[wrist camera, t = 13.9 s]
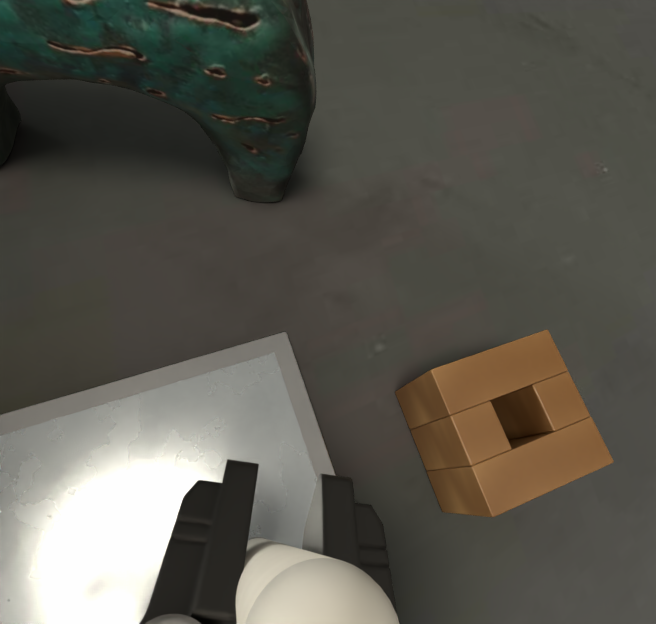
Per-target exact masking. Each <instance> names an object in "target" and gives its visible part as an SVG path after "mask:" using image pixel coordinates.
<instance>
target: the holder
mask: <svg viewBox="0 0 656 624" xmlns="http://www.w3.org/2000/svg"><path fill="white" fill-rule="evenodd" d="M566 371H568V369H567V367H566V365H565V363H564V361H563V359H562V357H561V355H560V353H559V351H558V349H557V347H556V345H555V343H554V341H553V339H552V337H551V335H550V333H549V331H548V330H544V331H541V332H538V333H535V334H532V335H530V336H527V337H524V338H521V339H518V340H515V341H512V342H509V343H506V344H503V345H501V346H498V347H495V348H492V349H489V350H486V351H483V352H480V353H477V354H474V355H471V356H469V357H466V358H463V359H460V360H457V361H454V362H451V363H448V364H445V365H442V366H440V367H437V368H434V369H431V370H429V371H428V372H426V373H425V374H423V375H421V376H420V377H418V378H416V379H415V380H413V381H412V382H410V383H408V384H407V385H405V386H404V387H402V388H400V389H399V390H397V391H396V392H395V393H396V396H397V398H398V401H399V403H400V406H401V409H402V411H403V414H404V416H405V419H406V421H407V424H408V426H409V429H411V433H412V436H413V438H414V441H415V443H416V446H417V448H418V451H419V453H420V456H421V458H422V461H423V464H424V466H425V469H426V470H427V474H428V477H429V479H430V482H431V484H432V487H433V489H434V492H435V494H436V497H437V499H438V502H439V505H440V507H441V510H442V512H446V513H456V514H466V515H475V516H485V517H495V516H497V515H500V514H502V513H504V512H506V511H508V510H510V509H513V508H515V507H517V506H519V505H521V504H524V503H526V502H528V501H530V500H532V499H535V498H537V497H539V496H541V495H543V494H546V493H548V492H550V491H552V490H554V489H556V488H559V487H561V486H563V485H565V484H567V483H570V482H572V481H574V480H576V479H578V478H581V477H583V476H585V475H587V474H589V473H591V472H594V471H596V470H598V469H600V468H602V467H605V466H607V465H609V464H611V463H613V462H614V461H613V459H612V457H611V455H610V453H609V451H608V449H607V447H606V445H605V443H604V441H603V439H602V437H601V435H600V433H599V431H598V429H597V427H596V425H595V423H594V421H593V419H592V417H589V416H590V414H589V412H588V410H587V408H586V406H585V404H584V402H583V400H582V398H581V396H580V394H579V392H578V390H577V388H576V386H575V384H574V382H573V380H572V378H571V376H570V374H569V372H566Z"/></svg>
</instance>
